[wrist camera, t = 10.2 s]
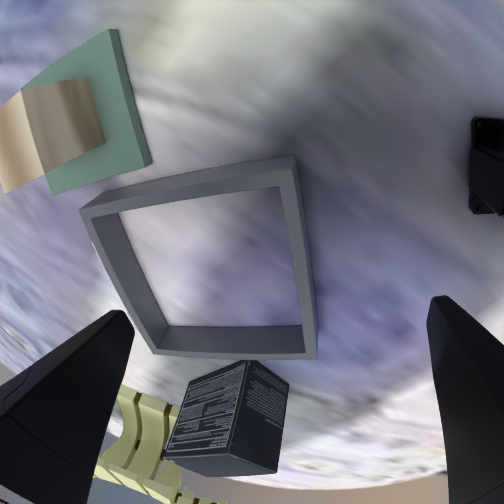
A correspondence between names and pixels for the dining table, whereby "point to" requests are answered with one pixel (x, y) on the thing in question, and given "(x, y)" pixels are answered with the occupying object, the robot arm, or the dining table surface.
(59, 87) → the block
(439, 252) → the dining table surface
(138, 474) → the slatted curved stool
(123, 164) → the mat
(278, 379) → the small box
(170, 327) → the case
